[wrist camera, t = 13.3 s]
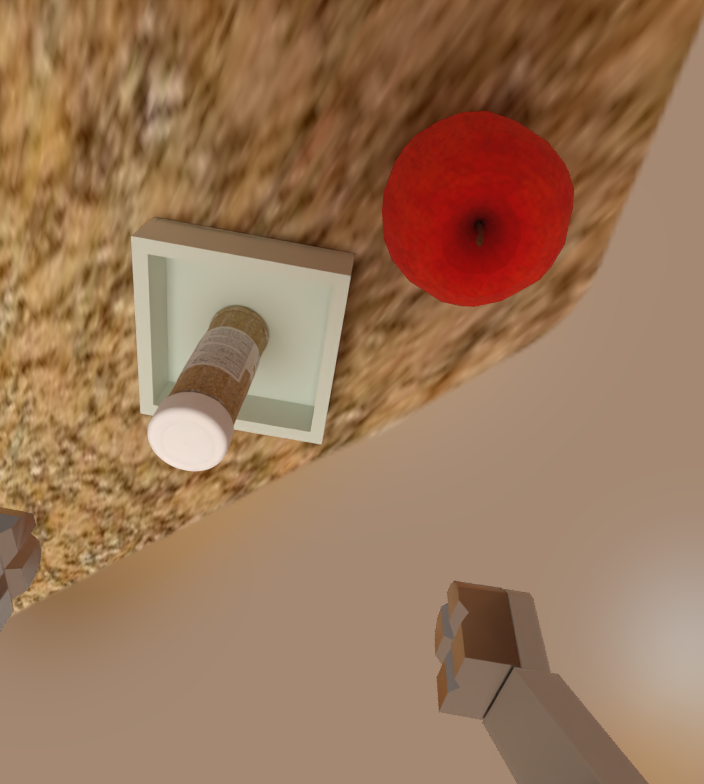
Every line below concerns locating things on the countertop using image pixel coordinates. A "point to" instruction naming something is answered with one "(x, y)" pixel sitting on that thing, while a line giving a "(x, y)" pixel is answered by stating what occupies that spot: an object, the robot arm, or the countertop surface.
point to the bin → (249, 290)
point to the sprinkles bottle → (209, 392)
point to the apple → (476, 208)
